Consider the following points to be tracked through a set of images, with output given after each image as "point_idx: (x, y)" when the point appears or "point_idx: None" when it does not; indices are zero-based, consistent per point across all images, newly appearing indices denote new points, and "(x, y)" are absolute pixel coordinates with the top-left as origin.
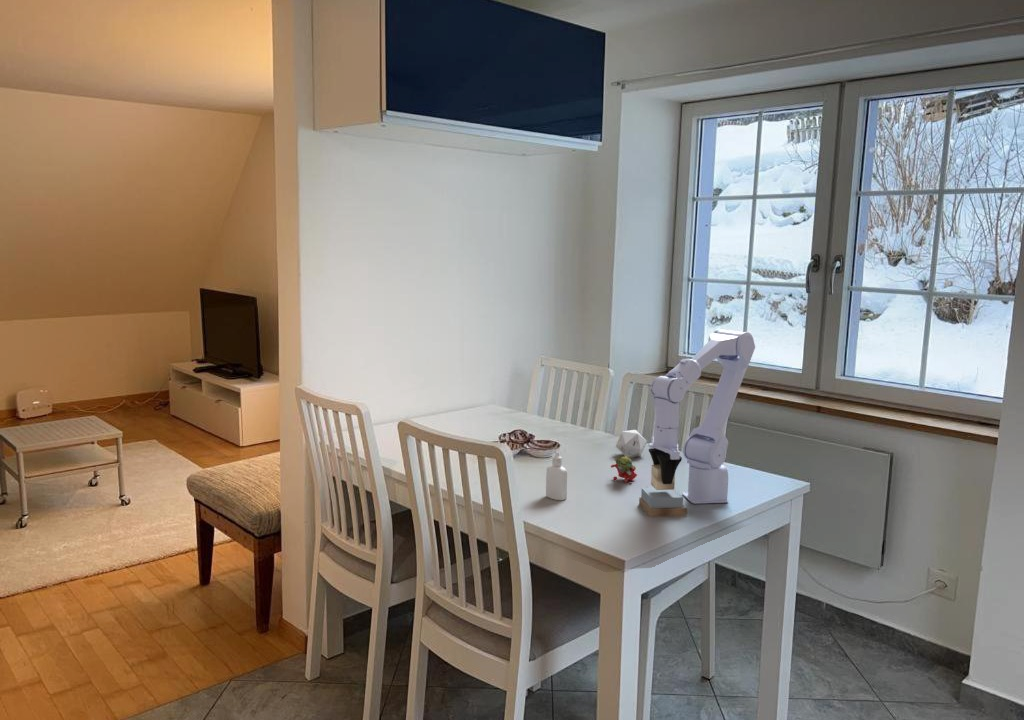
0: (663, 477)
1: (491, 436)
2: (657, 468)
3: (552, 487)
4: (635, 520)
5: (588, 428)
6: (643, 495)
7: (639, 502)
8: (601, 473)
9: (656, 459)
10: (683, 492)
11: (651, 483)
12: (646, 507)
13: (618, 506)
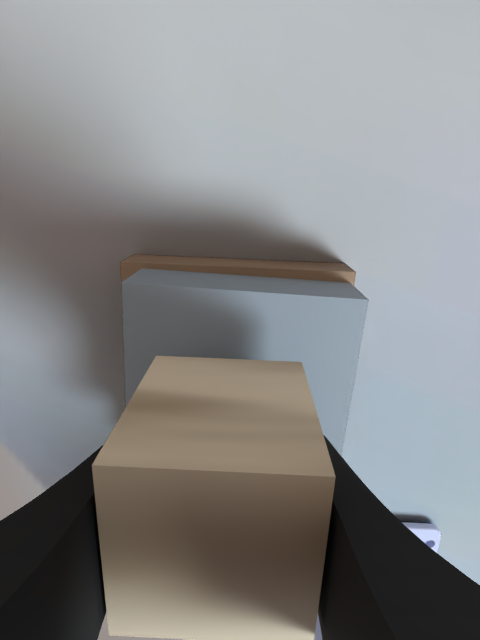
0: (86, 461)
1: None
2: (161, 487)
3: None
4: (76, 143)
5: None
6: (306, 286)
7: (341, 265)
8: None
9: (350, 597)
10: (438, 536)
11: (289, 366)
12: (205, 262)
13: (339, 117)
